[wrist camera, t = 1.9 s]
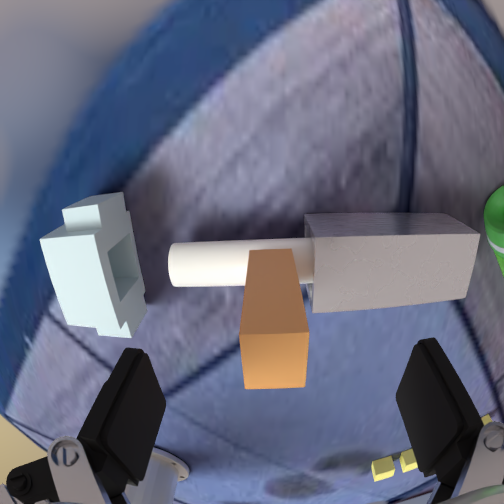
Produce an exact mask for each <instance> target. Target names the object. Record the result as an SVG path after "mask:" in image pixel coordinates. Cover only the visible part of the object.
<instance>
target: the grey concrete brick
mask: <svg viewBox="0 0 504 504" xmlns="http://www.w3.org/2000/svg"><path fill="white" fill-rule="evenodd" d="M304 238H311V239H312V241H313V244H314V250H313V281H312V283H305V285H306V289H307V293H308V297H309V301H310V305H311V309H312V313H325V312H340V311H353V310H365V309H377V308H387V307H397V306H406V305H415V304H424V303H432V302H439V301H447V300H454V299H461V298H465V297H466V294H467V290H468V287H469V283H470V279H471V275H472V271H473V267H474V263H475V258H476V254H477V249H478V244H479V238H480V233H478V232H477V231H475V230H473V229H472V228H470V227H468V226H467V225H465V224H463V223H461V222H460V221H458V220H456V219H454V218H453V217H451V216H449V215H447V214H446V213H315V214H304Z"/></svg>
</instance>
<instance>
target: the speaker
mask: <svg viewBox="0 0 504 504" xmlns="http://www.w3.org/2000/svg"><path fill="white" fill-rule="evenodd" d="M484 224H485V230H486V234H487V240H488V242H489V245H490V246H491V248H492V249H493V250H494V253H495V256H496V258H497V261H498V263H499V266H500V269H501V271H502V274H503V277H504V185H503V186H501V187H500V188H498V189H497V190H496V191H495V192H494V193H493V194H492V195H491V196H490V198H489V199H488V201H487V203H486V205H485V208H484Z"/></svg>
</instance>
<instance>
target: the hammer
mask: <svg viewBox="0 0 504 504" xmlns="http://www.w3.org/2000/svg"><path fill="white" fill-rule="evenodd" d="M313 250H314V244H313V241H312V239H311V238H285V239H258V240H232V241H208V242H186V243H173V244H172V245H171V247H170V251H169V256H168V270H169V276H170V280H171V282H172V284H173V286H175V287H202V286H245V291H244V299H243V307H242V315H241V323H240V332H239V338H240V348H241V357H242V367H243V376H244V385H245V389H276V388H298V387H305V381H306V370H307V358H308V345H309V328H308V323H307V318H306V313H305V308H304V303H303V298H302V293H301V289H300V284H303V283H312V281H313Z"/></svg>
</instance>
